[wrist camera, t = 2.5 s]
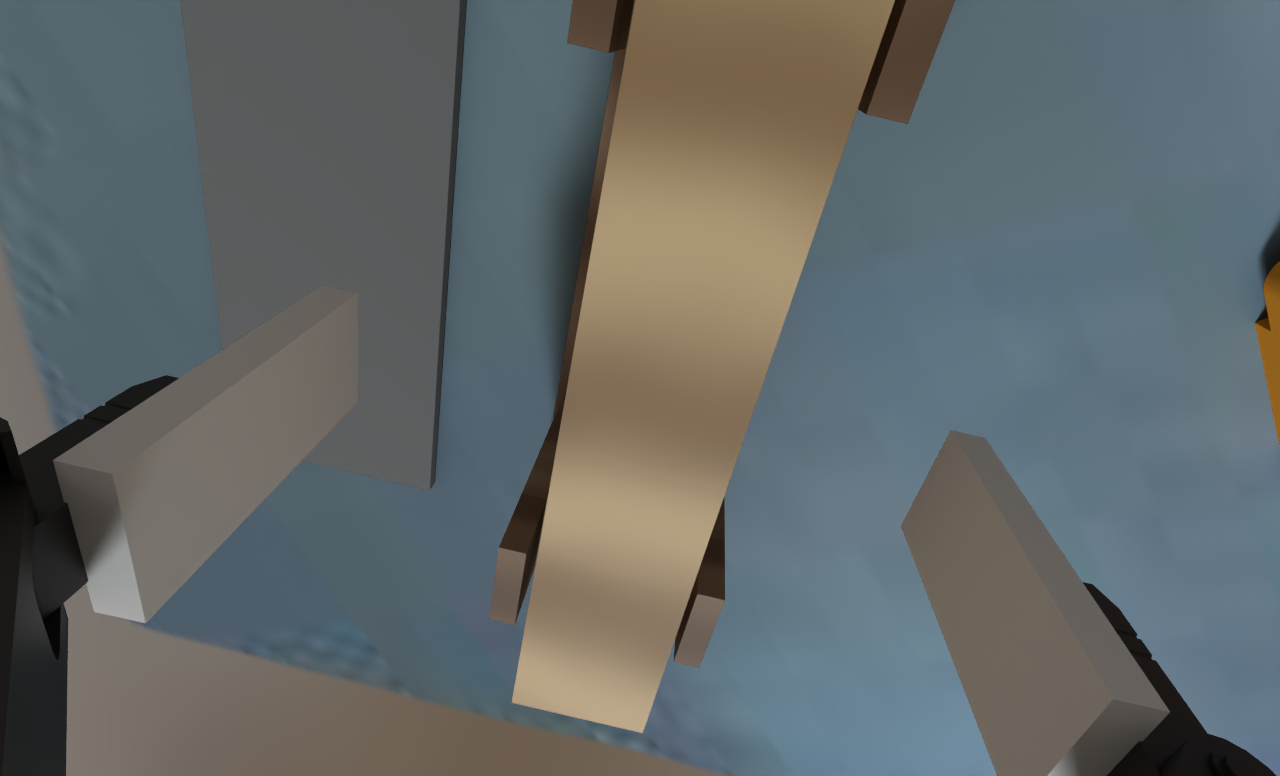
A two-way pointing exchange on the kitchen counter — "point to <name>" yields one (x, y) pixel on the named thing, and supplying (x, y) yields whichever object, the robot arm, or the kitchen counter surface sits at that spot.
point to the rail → (681, 322)
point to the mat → (337, 192)
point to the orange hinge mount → (1272, 341)
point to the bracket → (606, 28)
